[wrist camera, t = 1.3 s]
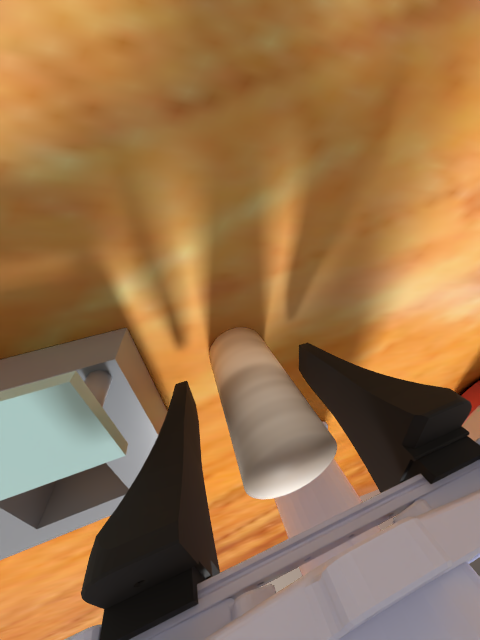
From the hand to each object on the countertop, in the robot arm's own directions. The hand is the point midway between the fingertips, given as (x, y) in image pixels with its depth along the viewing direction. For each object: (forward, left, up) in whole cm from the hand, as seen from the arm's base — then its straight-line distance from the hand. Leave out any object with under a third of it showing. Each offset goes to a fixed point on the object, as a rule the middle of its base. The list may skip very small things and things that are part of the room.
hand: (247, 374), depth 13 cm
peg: (0, 0, -3) cm, 3 cm away
